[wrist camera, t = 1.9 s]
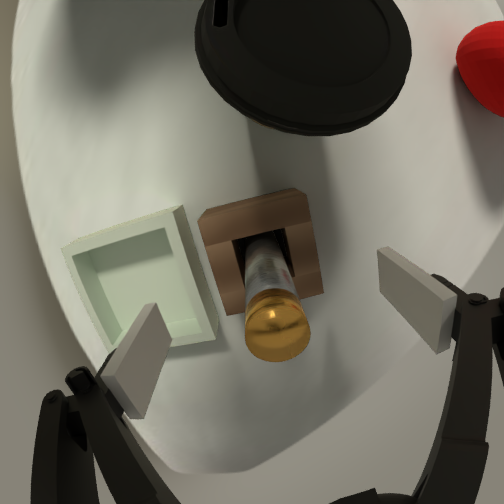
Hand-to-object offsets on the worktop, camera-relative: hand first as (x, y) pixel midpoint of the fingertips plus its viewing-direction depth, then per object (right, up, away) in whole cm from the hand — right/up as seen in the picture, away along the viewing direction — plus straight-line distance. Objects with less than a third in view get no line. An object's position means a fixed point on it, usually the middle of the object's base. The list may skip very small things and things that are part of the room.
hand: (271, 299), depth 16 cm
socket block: (0, +4, +10) cm, 11 cm away
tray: (-12, 0, +11) cm, 16 cm away
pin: (0, +4, +10) cm, 11 cm away
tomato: (+26, +23, +5) cm, 35 cm away
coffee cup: (+1, +16, +6) cm, 17 cm away
